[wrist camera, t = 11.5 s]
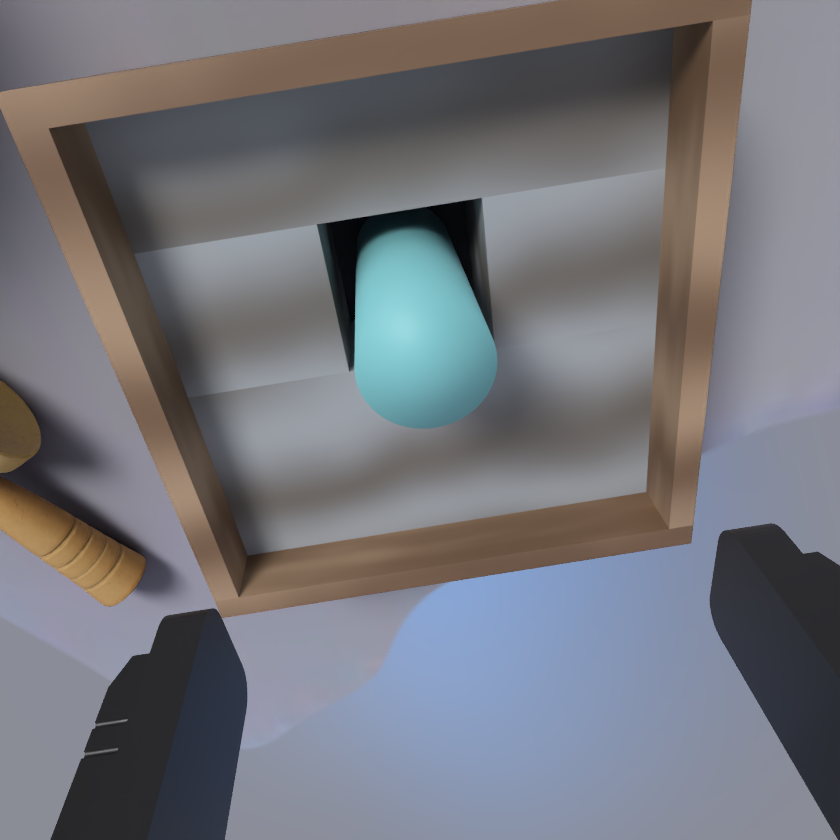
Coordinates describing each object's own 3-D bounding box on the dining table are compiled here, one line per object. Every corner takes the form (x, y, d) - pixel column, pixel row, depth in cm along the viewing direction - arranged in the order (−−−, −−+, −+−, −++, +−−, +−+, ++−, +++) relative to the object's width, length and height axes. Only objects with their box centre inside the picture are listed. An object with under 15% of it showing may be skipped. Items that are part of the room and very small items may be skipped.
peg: (347, 210, 26) (340, 312, 17) (444, 194, 26) (491, 288, 17) (365, 302, 28) (368, 438, 19) (455, 287, 28) (502, 416, 19)
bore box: (94, 75, 23) (-7, 93, 17) (645, -14, 23) (755, -31, 17) (248, 506, 34) (221, 617, 27) (627, 445, 34) (691, 543, 27)
